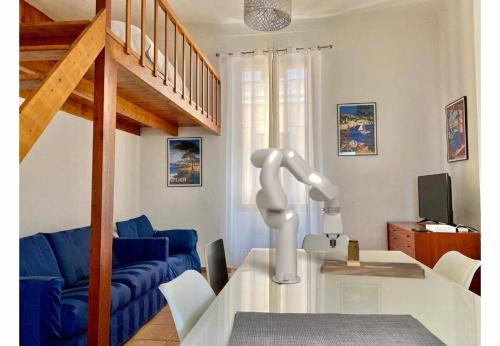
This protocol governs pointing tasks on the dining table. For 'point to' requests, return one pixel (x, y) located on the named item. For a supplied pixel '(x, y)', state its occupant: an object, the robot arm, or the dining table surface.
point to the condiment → (353, 250)
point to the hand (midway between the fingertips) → (333, 247)
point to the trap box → (374, 269)
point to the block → (352, 263)
